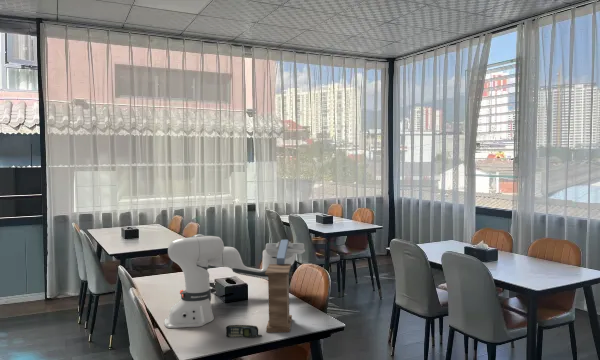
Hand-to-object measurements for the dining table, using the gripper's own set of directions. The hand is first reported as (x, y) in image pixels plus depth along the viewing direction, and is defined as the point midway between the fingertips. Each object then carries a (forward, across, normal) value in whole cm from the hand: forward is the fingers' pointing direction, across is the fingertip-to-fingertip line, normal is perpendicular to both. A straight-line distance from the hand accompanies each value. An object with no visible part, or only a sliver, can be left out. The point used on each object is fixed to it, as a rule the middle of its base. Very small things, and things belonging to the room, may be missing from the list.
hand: (284, 243), depth 231 cm
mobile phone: (+20, +14, -49) cm, 55 cm away
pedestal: (+9, 0, -42) cm, 43 cm away
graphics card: (-38, +42, -16) cm, 59 cm away
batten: (+6, 0, -8) cm, 10 cm away
